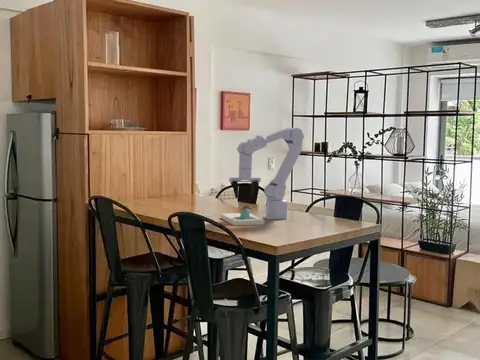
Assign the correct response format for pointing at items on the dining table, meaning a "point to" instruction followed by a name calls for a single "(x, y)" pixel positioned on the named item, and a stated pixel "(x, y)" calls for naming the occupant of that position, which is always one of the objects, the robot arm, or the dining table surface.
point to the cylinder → (244, 214)
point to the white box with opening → (235, 220)
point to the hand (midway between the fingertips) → (244, 197)
